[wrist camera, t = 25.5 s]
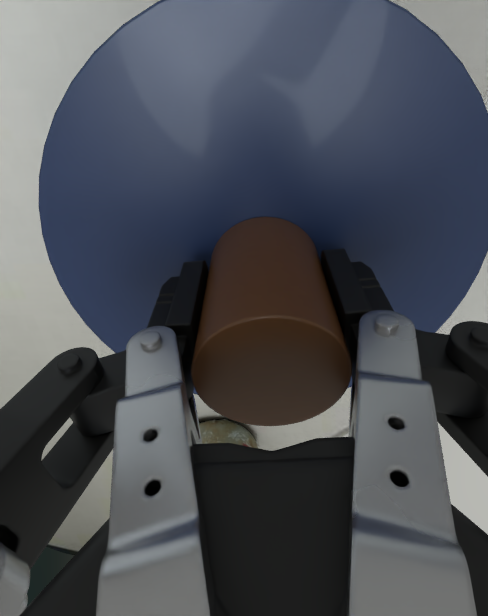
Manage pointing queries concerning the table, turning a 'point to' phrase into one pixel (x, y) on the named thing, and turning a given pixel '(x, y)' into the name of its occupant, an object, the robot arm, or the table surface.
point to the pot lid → (266, 184)
